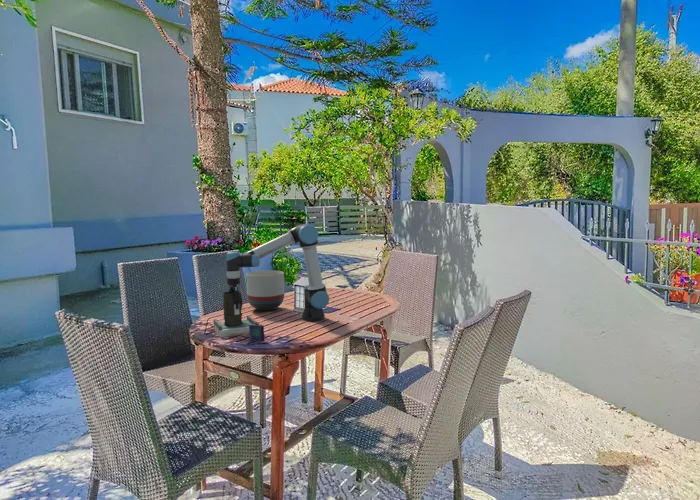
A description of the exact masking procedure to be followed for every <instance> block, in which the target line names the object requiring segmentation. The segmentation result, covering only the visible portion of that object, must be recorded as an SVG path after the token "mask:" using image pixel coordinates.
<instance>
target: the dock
mask: <svg viewBox="0 0 700 500" xmlns="http://www.w3.org/2000/svg"><path fill="white" fill-rule="evenodd" d="M224 322H225V321H221V322H220V321H218V319H216V318H215V319H213V331H215V333H216V334H217V335H218V337H219V338H226V337H233V336H234V337H235V335H236V336H244V335H249V325H250V324H255V322H257V321H256V320H255V319H254V318H253V317H252V316H250V315H246V318H245V319H242V324H239V325H234V326H227V325H224Z"/></svg>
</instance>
